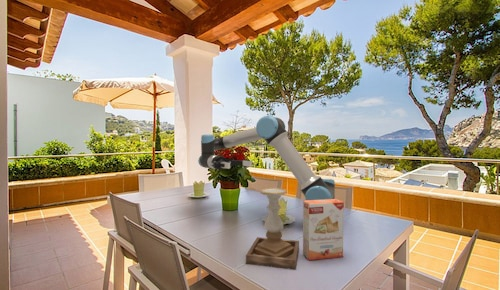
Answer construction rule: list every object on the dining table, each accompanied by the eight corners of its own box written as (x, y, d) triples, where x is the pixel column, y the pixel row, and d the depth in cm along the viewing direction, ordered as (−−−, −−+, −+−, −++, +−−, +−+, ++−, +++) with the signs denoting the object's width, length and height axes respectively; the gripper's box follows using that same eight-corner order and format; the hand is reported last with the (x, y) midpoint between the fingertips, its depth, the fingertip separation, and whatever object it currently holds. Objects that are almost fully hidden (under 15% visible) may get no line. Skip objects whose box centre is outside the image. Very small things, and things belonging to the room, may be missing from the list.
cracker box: (309, 261, 92) (308, 203, 91) (302, 254, 98) (302, 199, 97) (344, 257, 94) (344, 201, 94) (335, 250, 100) (335, 197, 100)
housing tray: (299, 248, 103) (299, 240, 103) (295, 269, 86) (295, 260, 86) (257, 244, 107) (257, 237, 107) (246, 263, 91) (245, 255, 91)
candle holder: (253, 252, 97) (253, 190, 96) (272, 244, 105) (271, 186, 104) (276, 262, 89) (275, 194, 89) (294, 252, 97) (293, 190, 96)
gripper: (235, 167, 149) (259, 170, 133) (196, 171, 133) (219, 174, 117) (235, 154, 149) (259, 156, 133) (196, 156, 133) (219, 158, 117)
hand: (240, 164), depth 125 cm, fingers open, 13 cm apart
